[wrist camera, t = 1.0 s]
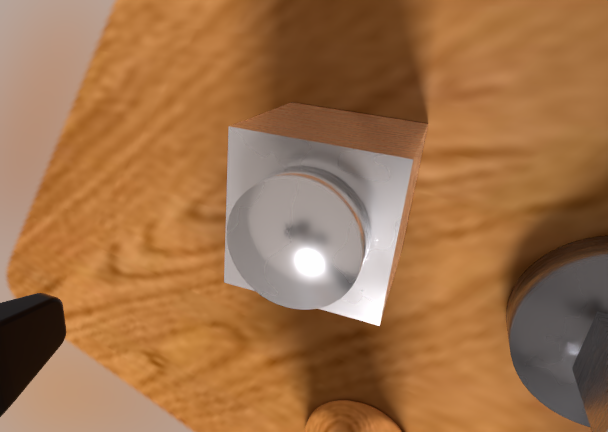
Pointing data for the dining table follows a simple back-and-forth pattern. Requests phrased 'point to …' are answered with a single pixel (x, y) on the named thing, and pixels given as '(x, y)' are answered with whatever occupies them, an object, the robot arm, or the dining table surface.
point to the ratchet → (564, 331)
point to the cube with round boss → (320, 206)
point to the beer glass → (349, 418)
